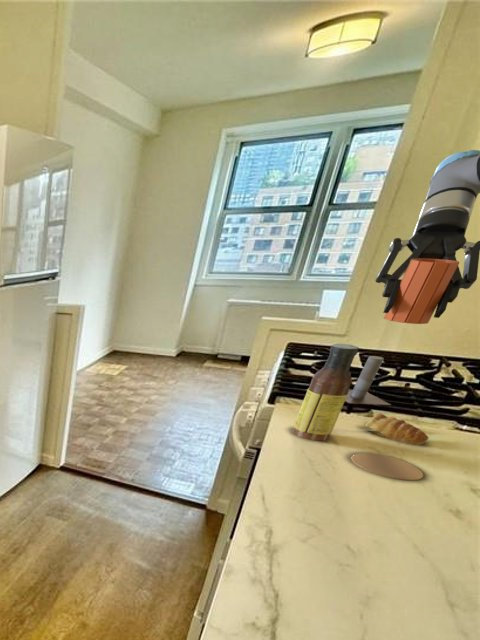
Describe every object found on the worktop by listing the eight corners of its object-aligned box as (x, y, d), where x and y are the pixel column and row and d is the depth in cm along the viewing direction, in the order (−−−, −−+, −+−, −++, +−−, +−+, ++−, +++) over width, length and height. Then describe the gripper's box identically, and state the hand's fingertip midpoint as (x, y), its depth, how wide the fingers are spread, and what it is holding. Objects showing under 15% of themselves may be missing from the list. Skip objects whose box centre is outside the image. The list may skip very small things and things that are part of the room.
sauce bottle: (333, 438, 103) (377, 347, 94) (319, 445, 100) (363, 353, 91) (297, 427, 108) (335, 339, 99) (283, 433, 105) (321, 344, 96)
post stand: (361, 396, 123) (383, 352, 117) (388, 410, 115) (413, 364, 109) (322, 394, 124) (342, 351, 118) (346, 408, 116) (368, 363, 111)
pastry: (430, 442, 101) (440, 426, 99) (414, 450, 98) (424, 433, 96) (374, 425, 108) (382, 409, 106) (358, 431, 106) (366, 416, 104)
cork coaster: (394, 457, 96) (395, 454, 96) (437, 484, 87) (438, 481, 87) (338, 454, 97) (339, 451, 97) (374, 480, 89) (376, 477, 88)
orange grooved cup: (410, 316, 106) (439, 258, 100) (437, 324, 100) (470, 262, 94) (375, 316, 107) (402, 258, 101) (399, 323, 101) (429, 263, 95)
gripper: (502, 234, 101) (473, 328, 97) (373, 231, 112) (344, 315, 109) (524, 207, 94) (495, 306, 91) (386, 206, 106) (355, 295, 102)
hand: (413, 311), depth 100 cm, fingers closed on orange grooved cup, 7 cm apart
